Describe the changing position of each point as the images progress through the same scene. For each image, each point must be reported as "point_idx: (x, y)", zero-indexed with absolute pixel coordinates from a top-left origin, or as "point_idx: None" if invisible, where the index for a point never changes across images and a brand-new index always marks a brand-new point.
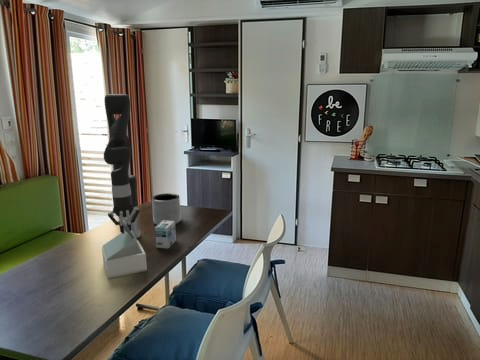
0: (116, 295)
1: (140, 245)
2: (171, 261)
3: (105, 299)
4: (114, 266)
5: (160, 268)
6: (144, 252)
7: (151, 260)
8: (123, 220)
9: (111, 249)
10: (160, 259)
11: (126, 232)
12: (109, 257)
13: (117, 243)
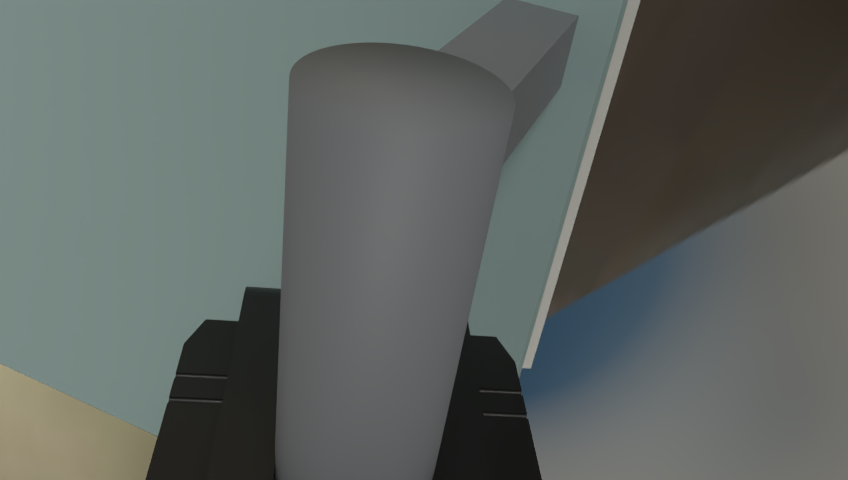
0: (131, 452)
1: (606, 76)
2: (805, 165)
3: (43, 463)
4: None
5: (623, 245)
6: (532, 337)
7: (656, 9)
8: (414, 211)
9: (30, 212)
10: (754, 47)
11: (439, 5)
12: (11, 364)
13: (146, 182)
